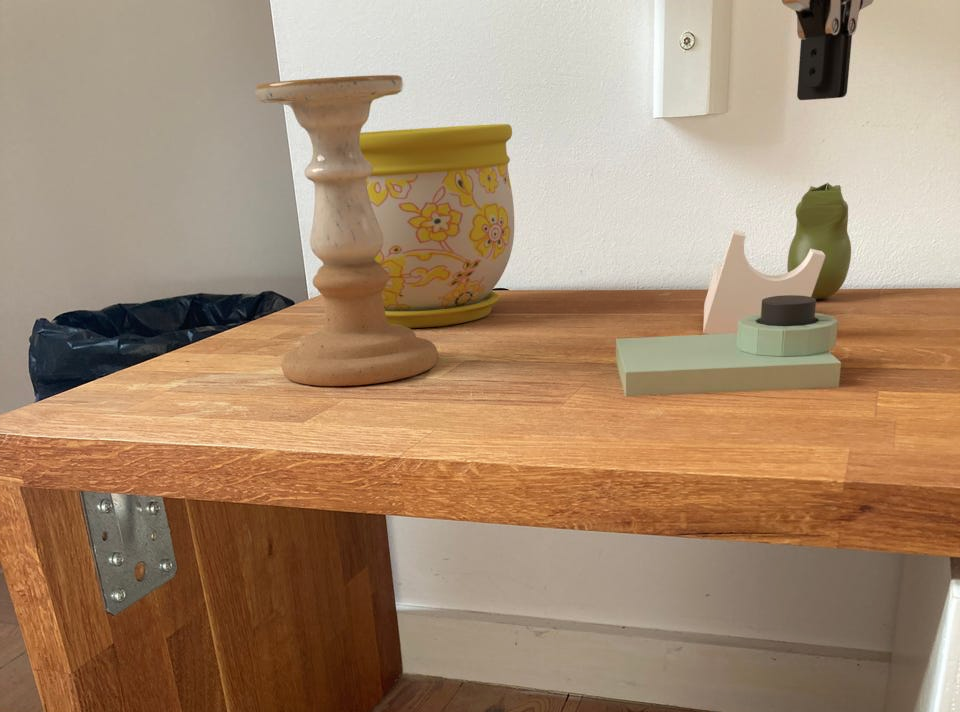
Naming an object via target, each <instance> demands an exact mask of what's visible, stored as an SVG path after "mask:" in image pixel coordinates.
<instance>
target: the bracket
mask: <svg viewBox="0 0 960 712" xmlns="http://www.w3.org/2000/svg"><path fill="white" fill-rule="evenodd" d="M731 231H732V232H731V234H730V238H729V241H728V245H727V248H726V250H725V254H724V257H723V261H722V263H721V264H720V263H715V267H714V271H713V273H712V277H711V280H710V284H709V286H708V289H707V294H706V297H705V300H704V303H703V327H702V329H703V331H702V333H703V334H705V335H707V334H728V333H737V327H738V320H740V319H742V318H744V317H746V316H749V315H755V314H761V306H762V300H763V299H765V298H768V297H773V296H784V295H799V296H809V297H811V296H812V293H813V290H814V287H815V285H816V282H817V279H818V276H819V273H820V270H821V268H822V265H823V262H824V259H825V254H824V253H823V252H822V251H819V250H815V249H811V248H810V251H809V253H808V255H807V257H806V258H805V259H804V261H803V262H802V263H801V264H800V265H799V266H798V267H797V268H795V269H794V270H792V271H790V272H788V271H787V272H786V273H783V274H777V275H770V274H764V273H762V272H761V271H758V270H757V269H756V268H755V267H753V266H752V265H751V264H750V262H749V261H748V259H747V257H746V254H745V240H746V238H747V237H746V232H744V231H740V230H735V229H732V230H731Z"/></svg>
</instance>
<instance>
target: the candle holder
mask: <svg viewBox="0 0 960 712" xmlns="http://www.w3.org/2000/svg"><path fill="white" fill-rule="evenodd" d="M403 89H404V80H403V77H402V76H401V75H398V74H376V75H375V74H374V75H373V74H371V75H355V76H354V75H353V76H334V77H333V76H332V77H320V78H306V79H304V78H303V79H293V80H282V81H281V80H280V81H271V82H263V83H258V84H256V85H255V87H254V94H255V97H256V99H257V101H258V102H260V103H263V104H276V105H278V104H279V105H283V106H289V108H291V109H292V112H293V115H294V117H295V119H296V121H297V123H298V125H299V126H300V127H301V128H303V129H304V130H305V131H306V132H307V134H308V136H309V139H310V142H311V147H312V157H311V160H310V162H309V164H308V165H306V167H305V168H304V170H303V171H304V176H305V178H306V179H307V180H309V181H311V182H313V185H314V210H313V211H314V212H313V219H312V225H311V231H310V238H309V244H310V250H311V251H312V253H313V254H314V255H315V256H316V257H317V258H318V259H319V261H321V262H322V264H323V265H321V266H320V267H319V268H318V269H317V273H316V274H315V275H314V276H313V278H312V286H313V287H314V288H315V289H316V290H318V293H320V295H322V297H324V329H321V330H318V331H315V332H312V333H309V334H307V335H306V336H304V337H303V338H302V339H300V343H299V345H298V347H295V348H293V349H291V350H289V351H288V352H286V353H285V354H284V356H283V357H282V360H281V371H282V372H283V373H282V374H283V375H284V377H285V378H286V379H288V380H289V381H292V382H293V383H294V382H295V383H298V384H304V385H309V386H319V387H320V386H321V387H347V386H348V387H350V386H363V385H373V384H380V383H386V382H394V381H399V380H403V379H406V378H407V379H408V378H410V377H415V376H418V375H420V374H423V373H425V372H427V371H429V370H430V369H432V368H434V366H436V364H437V362H438V357H439V355H438V348H437V346H436V345H435V344H434V342H432V341H431V340H429V339H427V338H423V337H420V336H419V337H418V336H417V335H416V334H415V332H414V330H413V329H412V328H407V327H404V326H399V325H391V324H388V322H387V318H386V314H385V309H384V305H383V300H382V294H381V292H382V291H383V289H384V288H385V286H386V283H387V282H388V281H389V278H390V277H389V273H388V272H387V271H386V270H385V269H383V267H382V265H381V264H380V263H378V262H377V261H375V257H376V256H377V254H378V253H379V252H380V250H381V249H382V246H383V235H382V232H381V229H380V226H379V224H378V222H377V219H376V217H375V214H374V211H373V208H372V205H371V201H370V198H369V194H368V190H367V184H366V179H367V177H369V176H370V175H371V174H372V172H373V166H372V164H371V163H370V162H369V161H367V160H366V159H365V158H364V156H363V155H362V152H361V149H360V143H359V139H360V133H362V132H361V131H362V128H363V126H364V125H365V124H366V123H367V121H368V120H369V118H370V117H369V116H370V112H371V106H372V103H373V101H375V100H378V99H381V98H384V97H389V96H395V95H399V94H401V92H403Z"/></svg>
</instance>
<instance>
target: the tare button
mask: <svg viewBox="0 0 960 712" xmlns="http://www.w3.org/2000/svg"><path fill="white" fill-rule="evenodd" d="M816 306H817V299H815V298H813V297H809V296H799V295H784V296H773V297H768V298H765V299H763V300H762V306H761V321H760V324H764V325H769V326H803V325H809V324H814V320H815V313H816V308H817V307H816Z"/></svg>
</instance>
